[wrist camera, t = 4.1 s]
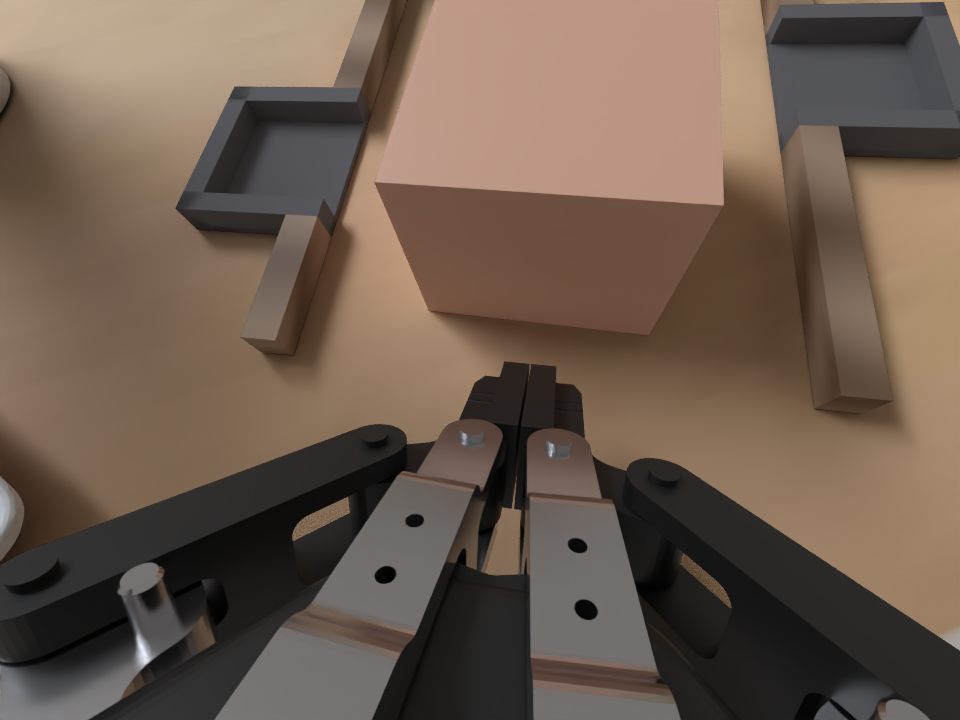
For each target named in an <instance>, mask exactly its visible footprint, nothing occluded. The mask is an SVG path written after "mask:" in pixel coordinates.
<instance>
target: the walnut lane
mask: <svg viewBox="0 0 960 720" xmlns="http://www.w3.org/2000/svg"><path fill="white" fill-rule="evenodd" d="M406 2H407V0H366V1H365V3H364V6H363V9H362V11H361V14H360V17H359V19H358V22H357V25H356V27H355V30H354V33H353V35H352V38H351V41H350V43H349V46H348V49H347V52H346V54H345V57H344V60H343V62H342V65H341V68H340V70H339V73H338V76H337V78H336V81H335V84H334V86H333V88H361V89H362V92H363V94H364V97H365V100H366V103H367V105H368V108H369V111H370V114H371V112H372V109H373V105H374V102H375V99H376V96H377V93H378V90H379V87H380V84H381V80H382V77H383V74H384V71H385V68H386V65H387V62H388V59H389V55H390V52H391V49H392V46H393V43H394V40H395V37H396V34H397V30H398V27H399V24H400V21H401V18H402V15H403V12H404V9H405V5H406ZM800 4H814V2H813V0H761V8H762V15H763V23H764V31H765V37H766V34H767V32H768V30H769V28H770V26H771V24H772V22H773V19H774V17H775V15H776V13H777V11H778V9H779V7H780V5H800ZM781 159H782V167H783V175H784V182H785V190H786V197H787V205H788V213H789V220H790V228H791V235H792V243H793V250H794V258H795V266H796V273H797V281H798V288H799V296H800V304H801V311H802V319H803V326H804V334H805V341H806V349H807V357H808V364H809V372H810V379H811V387H812V395H813V402H814V409H823V410H833V411H843V412H853V413H863V412H866V411H868V410H871V409H873V408H876V407H878V406H881V405H883V404H886V403H889V402H891V401H893V398H892V393H891V388H890V383H889V378H888V373H887V368H886V363H885V358H884V353H883V348H882V343H881V338H880V333H879V328H878V323H877V318H876V313H875V308H874V303H873V298H872V293H871V288H870V283H869V278H868V273H867V268H866V263H865V258H864V253H863V247H862V242H861V237H860V232H859V227H858V222H857V217H856V212H855V207H854V202H853V197H852V192H851V187H850V182H849V177H848V172H847V167H846V162H845V157H844V152H843V147H842V142H841V137H840V132H839V127H838V126H809V125H799V126H798V128H797V129H796V131H795V133H794V134H793V136H792V137H791V139H790V140H789V142H788V143H787V145H786V146H785V148H784V150H783V151H782V153H781ZM330 240H331V237H330V235H329V233H328V232H327V230H326V229H325V227H324V226H323V224H322V223H321V221H320V219H319V218H318V216H304V215H285V218H284V221H283V223H282V226H281V229H280V231H279V234H278V237H277V239H276V242H275V245H274V247H273V250H272V253H271V255H270V258H269V261H268V264H267V266H266V269H265V272H264V274H263V277H262V280H261V282H260V285H259V288H258V290H257V293H256V296H255V298H254V301H253V304H252V306H251V309H250V312H249V315H248V317H247V320H246V323H245V325H244V328H243V331H242V333H241V336H240V337H241V338H242V339H244V340H245V341H246V342H248V343H249V344H250V345H252V346H253V347H255V348H256V349H257V350H259V351H260V352H266V353H275V354H285V355H294V353H295V350H296V346H297V343H298V340H299V337H300V334H301V331H302V328H303V325H304V321H305V318H306V315H307V312H308V309H309V306H310V303H311V299H312V296H313V293H314V290H315V287H316V284H317V281H318V278H319V274H320V271H321V268H322V265H323V262H324V259H325V256H326V253H327V249H328V246H329V243H330Z"/></svg>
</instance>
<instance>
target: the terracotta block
mask: <svg viewBox="0 0 960 720" xmlns="http://www.w3.org/2000/svg"><path fill="white" fill-rule="evenodd" d="M374 182H375V185H376V187H377V190H378V192H379V194H380V197H381V199H382V201H383V204H384V206H385V208H386V211H387V213H388V215H389V218H390V220H391V223H392V225H393V227H394V230H395V232H396V234H397V237H398V239H399V241H400V244H401V246H402V248H403V251H404V253H405V256H406V258H407V260H408V263H409V265H410V267H411V270H412V272H413V274H414V277H415V279H416V281H417V284H418V286H419V289H420V291H421V293H422V296H423V298H424V300H425V303H426V305H427V307H428V310H429V311H437V312H446V313H455V314H463V315H472V316H481V317H490V318H499V319H508V320H517V321H526V322H535V323H543V324H552V325H561V326H570V327H579V328H588V329H597V330H606V331H615V332H624V333H632V334H641V335H649V334H650V333H651V331H652V329H653V327H654V326H655V324H656V322H657V320H658V319H659V317H660V315H661V314H662V312H663V310H664V308H665V307H666V305H667V303H668V301H669V300H670V298H671V296H672V295H673V293H674V291H675V289H676V288H677V286H678V284H679V282H680V281H681V279H682V277H683V275H684V274H685V272H686V270H687V269H688V267H689V265H690V263H691V262H692V260H693V258H694V256H695V255H696V253H697V251H698V249H699V248H700V246H701V244H702V243H703V241H704V239H705V237H706V236H707V234H708V232H709V230H710V229H711V227H712V225H713V223H714V222H715V220H716V218H717V217H718V215H719V213H720V211H721V210H722V208H723V206H724V191H723V150H722V110H721V69H720V29H719V0H435V1H434V4H433V7H432V10H431V13H430V16H429V19H428V22H427V25H426V28H425V31H424V34H423V37H422V40H421V43H420V46H419V49H418V52H417V55H416V58H415V61H414V64H413V67H412V70H411V73H410V76H409V79H408V82H407V85H406V88H405V91H404V94H403V97H402V100H401V103H400V106H399V109H398V112H397V115H396V118H395V121H394V124H393V127H392V130H391V133H390V136H389V139H388V142H387V145H386V148H385V151H384V154H383V157H382V160H381V163H380V166H379V169H378V172H377V175H376V178H375V181H374Z"/></svg>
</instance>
